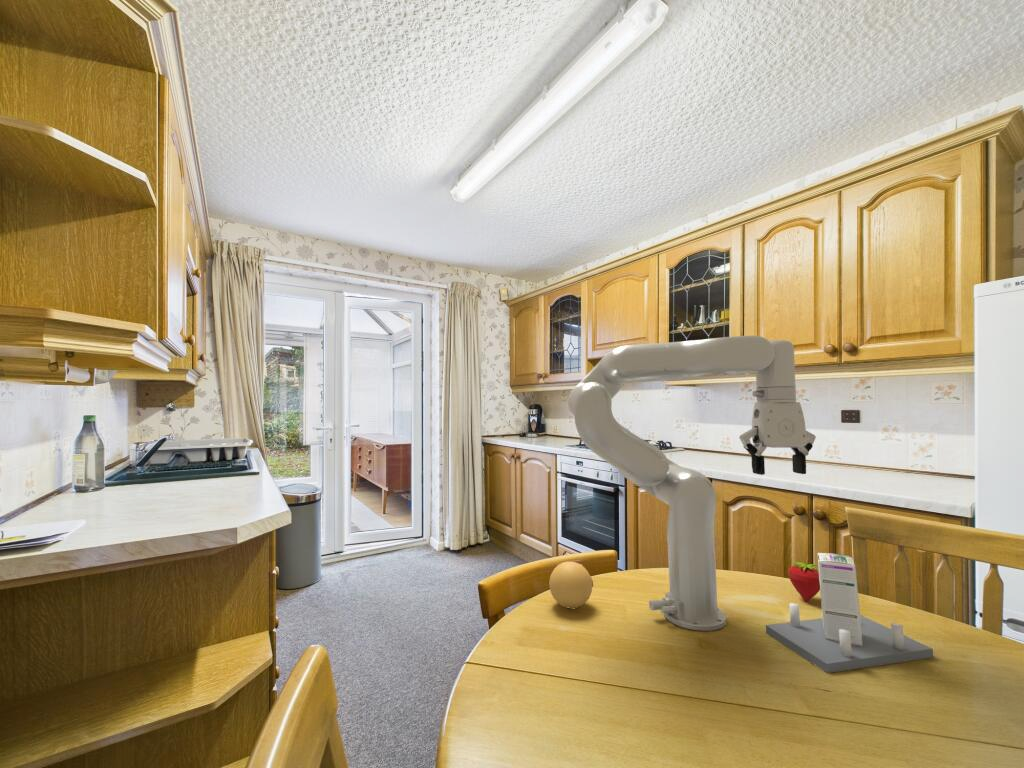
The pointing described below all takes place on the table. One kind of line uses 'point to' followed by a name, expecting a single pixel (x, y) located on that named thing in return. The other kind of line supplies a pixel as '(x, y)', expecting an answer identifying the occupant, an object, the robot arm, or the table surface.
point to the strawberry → (805, 579)
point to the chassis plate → (831, 648)
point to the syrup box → (839, 596)
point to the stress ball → (570, 584)
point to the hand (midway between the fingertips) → (779, 473)
